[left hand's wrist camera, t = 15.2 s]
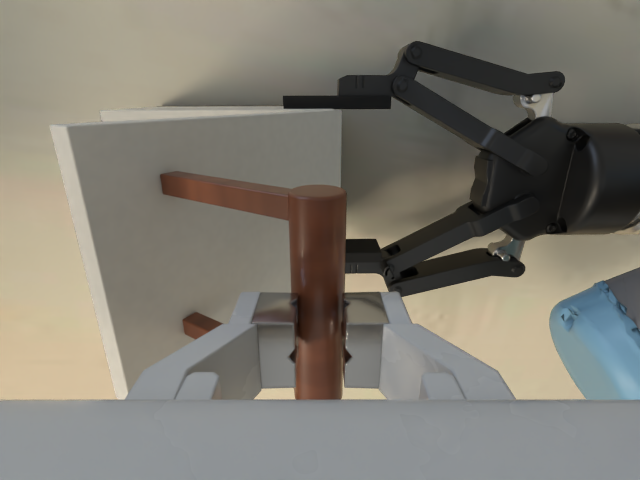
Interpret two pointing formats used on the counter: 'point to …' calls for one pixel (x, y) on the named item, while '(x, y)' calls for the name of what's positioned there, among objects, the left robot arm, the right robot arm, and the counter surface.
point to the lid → (209, 231)
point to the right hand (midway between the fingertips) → (287, 181)
